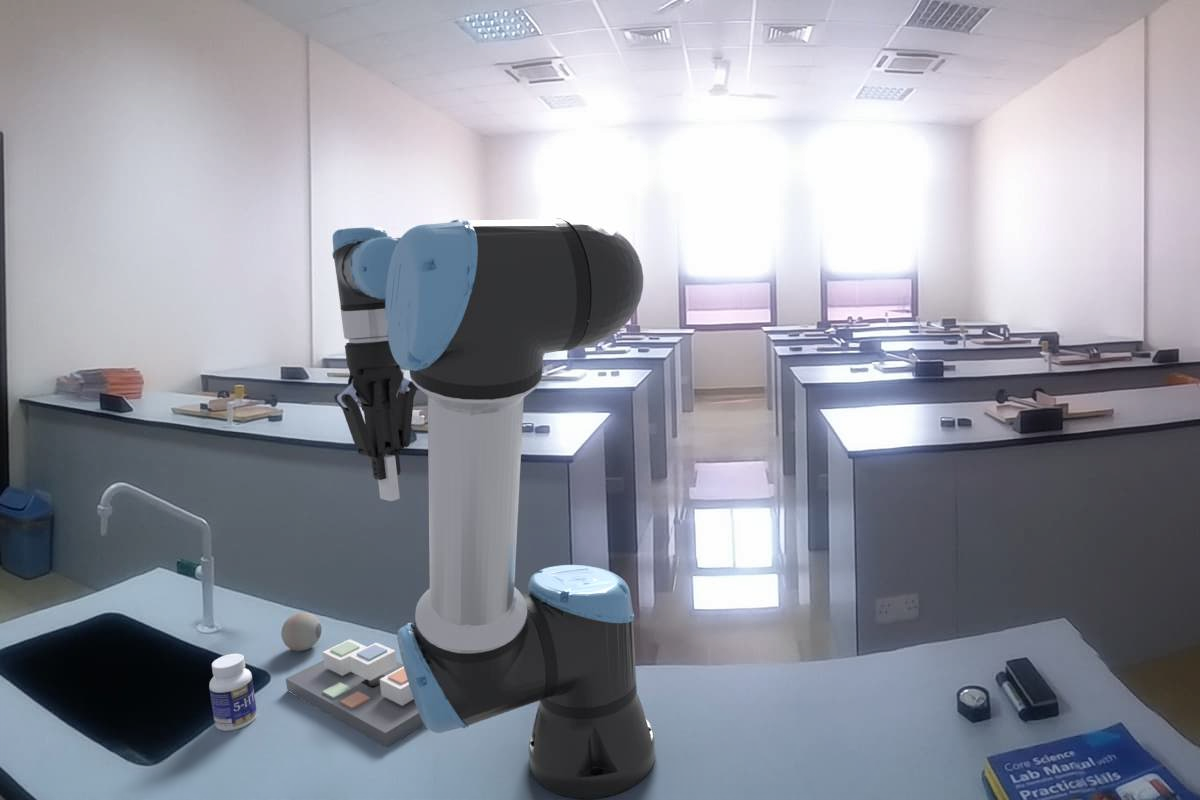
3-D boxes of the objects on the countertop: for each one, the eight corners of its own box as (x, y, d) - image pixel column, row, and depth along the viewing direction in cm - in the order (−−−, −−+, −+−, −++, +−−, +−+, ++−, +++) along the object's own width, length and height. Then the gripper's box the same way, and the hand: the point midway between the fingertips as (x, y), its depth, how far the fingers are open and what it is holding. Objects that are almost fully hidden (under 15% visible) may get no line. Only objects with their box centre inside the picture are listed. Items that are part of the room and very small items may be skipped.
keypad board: (459, 702, 106) (457, 687, 106) (387, 747, 97) (385, 730, 97) (358, 655, 121) (356, 642, 121) (287, 691, 112) (285, 676, 112)
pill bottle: (241, 733, 102) (231, 671, 101) (206, 730, 103) (196, 670, 102) (265, 710, 107) (257, 651, 106) (232, 708, 109) (223, 650, 107)
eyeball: (315, 657, 122) (310, 621, 121) (277, 658, 122) (272, 623, 121) (329, 638, 128) (324, 605, 127) (292, 640, 128) (288, 606, 127)
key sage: (371, 674, 115) (367, 645, 114) (343, 688, 111) (340, 658, 110) (353, 665, 117) (349, 637, 117) (326, 679, 114) (322, 650, 113)
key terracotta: (431, 703, 106) (427, 672, 105) (404, 719, 102) (400, 687, 102) (410, 693, 109) (406, 662, 108) (383, 708, 105) (379, 677, 104)
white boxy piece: (398, 679, 110) (395, 649, 109) (371, 694, 106) (367, 663, 106) (379, 670, 113) (376, 640, 112) (352, 684, 109) (348, 654, 109)
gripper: (393, 334, 117) (409, 484, 121) (315, 344, 107) (336, 507, 111) (425, 334, 112) (441, 490, 116) (347, 345, 102) (367, 515, 106)
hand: (390, 498), depth 113 cm, fingers closed
